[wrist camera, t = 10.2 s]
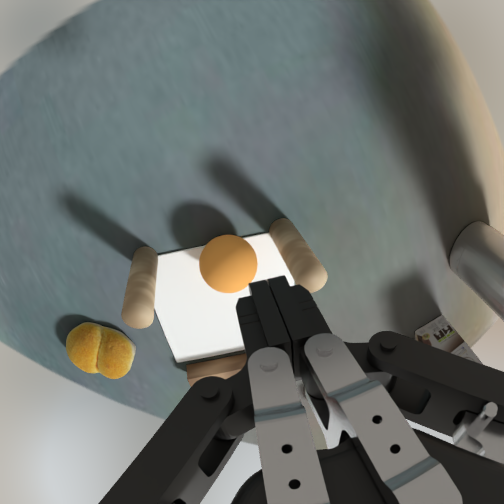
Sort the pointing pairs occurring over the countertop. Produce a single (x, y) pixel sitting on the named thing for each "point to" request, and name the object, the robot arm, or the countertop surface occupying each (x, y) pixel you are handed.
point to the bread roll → (100, 350)
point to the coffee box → (445, 338)
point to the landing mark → (206, 301)
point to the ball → (228, 263)
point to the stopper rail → (216, 368)
